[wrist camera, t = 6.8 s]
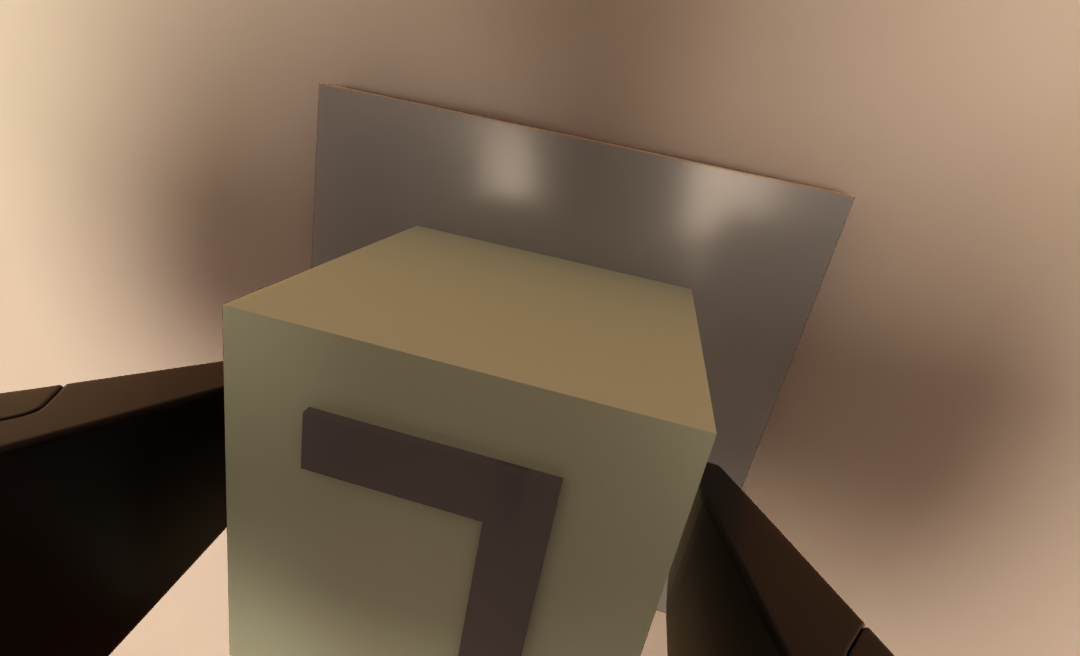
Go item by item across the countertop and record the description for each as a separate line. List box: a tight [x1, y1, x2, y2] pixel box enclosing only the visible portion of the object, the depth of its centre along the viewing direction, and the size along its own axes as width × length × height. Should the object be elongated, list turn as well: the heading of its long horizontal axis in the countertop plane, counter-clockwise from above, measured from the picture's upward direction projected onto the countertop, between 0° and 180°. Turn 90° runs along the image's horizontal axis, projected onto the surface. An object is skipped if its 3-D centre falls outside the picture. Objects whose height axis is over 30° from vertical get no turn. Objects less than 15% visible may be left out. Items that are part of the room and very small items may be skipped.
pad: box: [312, 84, 855, 613], centre depth 11 cm, size 9×9×1 cm
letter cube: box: [222, 226, 717, 656], centre depth 9 cm, size 5×5×5 cm
